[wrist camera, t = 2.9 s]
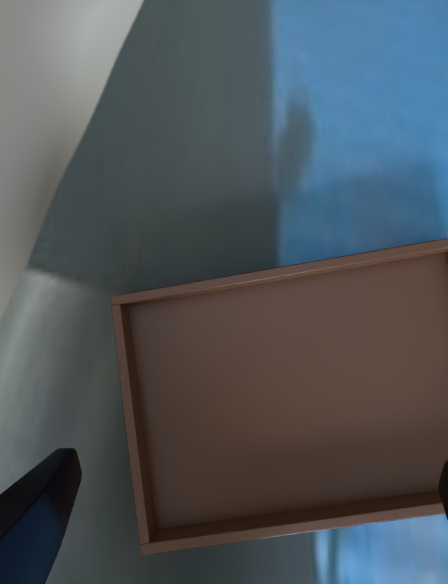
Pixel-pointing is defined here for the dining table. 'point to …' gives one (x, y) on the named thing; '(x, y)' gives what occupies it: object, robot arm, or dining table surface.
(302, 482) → the tray
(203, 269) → the dining table surface
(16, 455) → the dining table surface
